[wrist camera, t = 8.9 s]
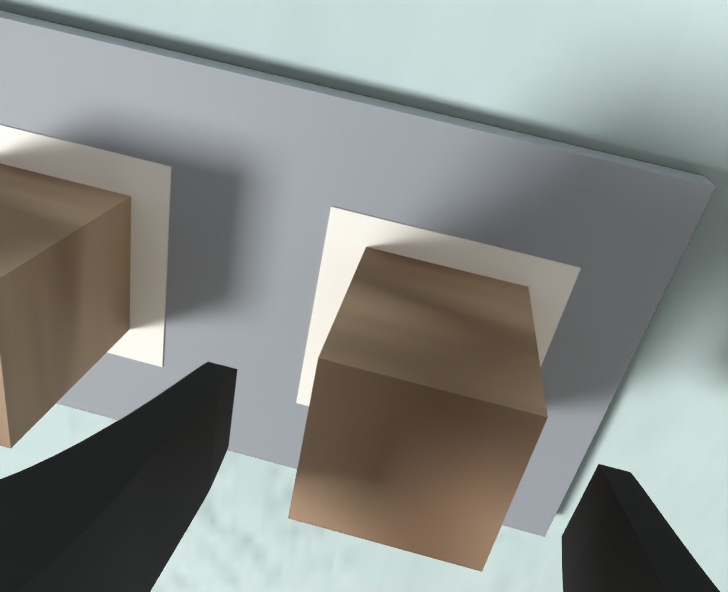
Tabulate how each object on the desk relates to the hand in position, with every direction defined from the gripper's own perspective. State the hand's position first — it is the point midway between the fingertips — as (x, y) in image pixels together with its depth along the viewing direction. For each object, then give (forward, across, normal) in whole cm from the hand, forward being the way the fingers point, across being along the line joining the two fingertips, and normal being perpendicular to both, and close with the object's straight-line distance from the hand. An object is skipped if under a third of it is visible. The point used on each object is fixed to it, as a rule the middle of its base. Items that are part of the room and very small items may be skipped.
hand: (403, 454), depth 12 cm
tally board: (+5, +5, 0) cm, 7 cm away
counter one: (+4, +10, 0) cm, 11 cm away
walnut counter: (+4, 0, 0) cm, 4 cm away
